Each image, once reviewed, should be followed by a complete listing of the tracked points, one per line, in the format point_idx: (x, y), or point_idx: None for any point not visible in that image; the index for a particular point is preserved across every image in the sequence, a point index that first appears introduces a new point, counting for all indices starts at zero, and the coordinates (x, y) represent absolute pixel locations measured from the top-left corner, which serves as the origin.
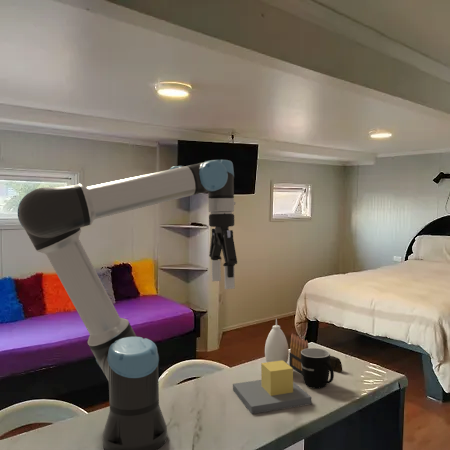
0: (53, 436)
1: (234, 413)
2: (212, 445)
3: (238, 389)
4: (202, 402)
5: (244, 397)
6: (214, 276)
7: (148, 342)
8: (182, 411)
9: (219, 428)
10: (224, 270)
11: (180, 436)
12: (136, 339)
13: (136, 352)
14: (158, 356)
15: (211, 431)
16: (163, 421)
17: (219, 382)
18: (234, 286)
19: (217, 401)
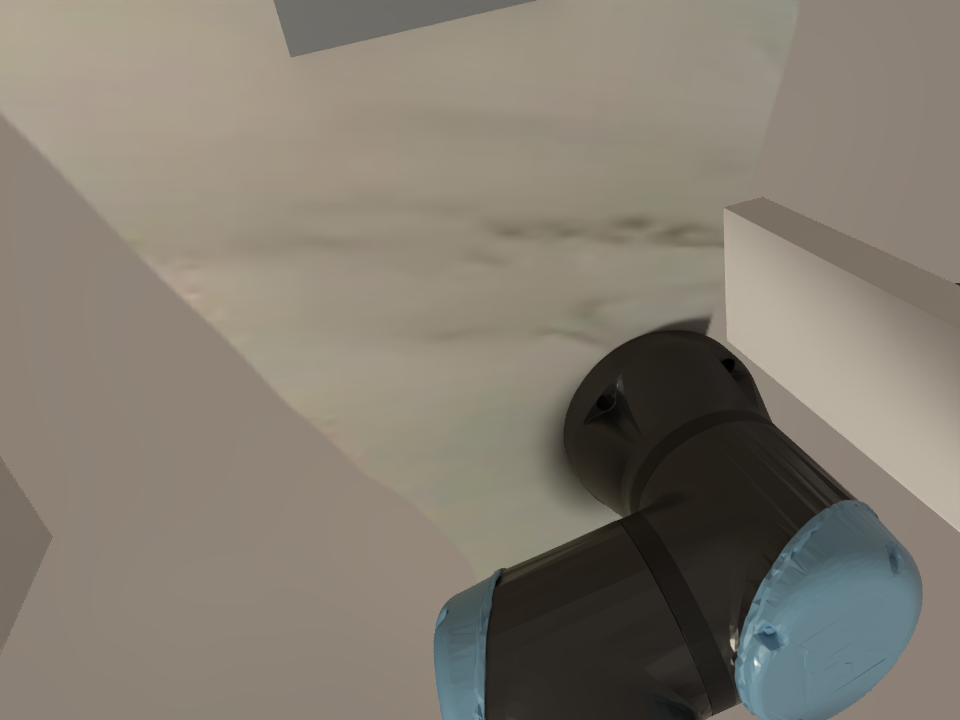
0: None
1: (546, 74)
2: (751, 180)
3: (371, 32)
4: (421, 218)
5: (473, 11)
6: (5, 570)
7: (833, 607)
8: (494, 296)
9: (652, 150)
10: (929, 505)
11: (670, 288)
12: (790, 663)
13: (906, 615)
14: (817, 521)
15: (665, 182)
16: (703, 364)
17: (177, 125)
18: (778, 207)
19: (418, 147)
